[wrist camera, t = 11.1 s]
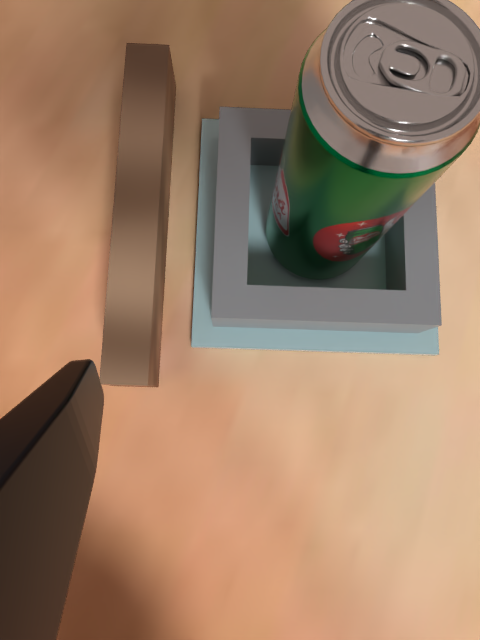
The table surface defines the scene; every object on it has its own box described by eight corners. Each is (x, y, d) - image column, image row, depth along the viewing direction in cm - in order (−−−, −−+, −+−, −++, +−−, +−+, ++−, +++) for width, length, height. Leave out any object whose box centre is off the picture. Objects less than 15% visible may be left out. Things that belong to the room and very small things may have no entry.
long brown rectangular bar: (158, 387, 22) (147, 385, 19) (116, 385, 22) (99, 384, 19) (175, 87, 25) (168, 44, 22) (138, 85, 25) (126, 43, 22)
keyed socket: (435, 355, 23) (465, 348, 20) (192, 347, 22) (186, 339, 19) (425, 132, 25) (451, 97, 22) (202, 123, 24) (199, 86, 21)
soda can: (282, 174, 24) (338, -52, 12) (376, 205, 23) (528, 7, 12) (251, 264, 23) (278, 117, 11) (348, 296, 23) (483, 183, 11)
